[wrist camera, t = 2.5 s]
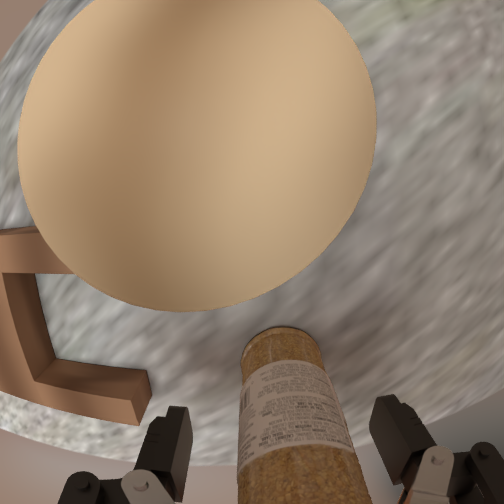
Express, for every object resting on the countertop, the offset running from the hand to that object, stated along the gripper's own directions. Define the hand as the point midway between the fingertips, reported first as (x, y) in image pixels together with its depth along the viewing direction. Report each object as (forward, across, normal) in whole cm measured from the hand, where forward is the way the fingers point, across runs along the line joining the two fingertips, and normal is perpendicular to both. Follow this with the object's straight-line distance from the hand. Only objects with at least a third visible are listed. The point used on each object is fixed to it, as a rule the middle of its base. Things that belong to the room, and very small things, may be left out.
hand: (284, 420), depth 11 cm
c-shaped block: (+6, +14, -2) cm, 15 cm away
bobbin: (+5, +3, -11) cm, 12 cm away
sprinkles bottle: (+6, 0, 0) cm, 6 cm away
